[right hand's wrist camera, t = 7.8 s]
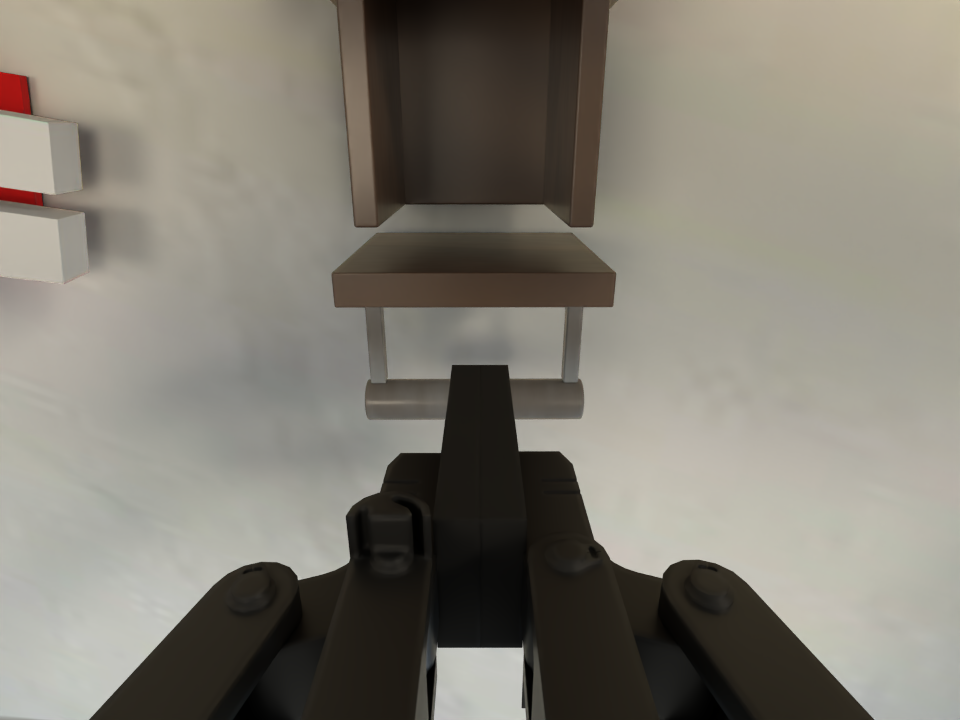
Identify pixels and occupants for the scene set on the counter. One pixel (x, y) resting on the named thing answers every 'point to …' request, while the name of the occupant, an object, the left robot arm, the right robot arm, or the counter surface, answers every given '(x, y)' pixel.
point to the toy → (38, 191)
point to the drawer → (473, 172)
